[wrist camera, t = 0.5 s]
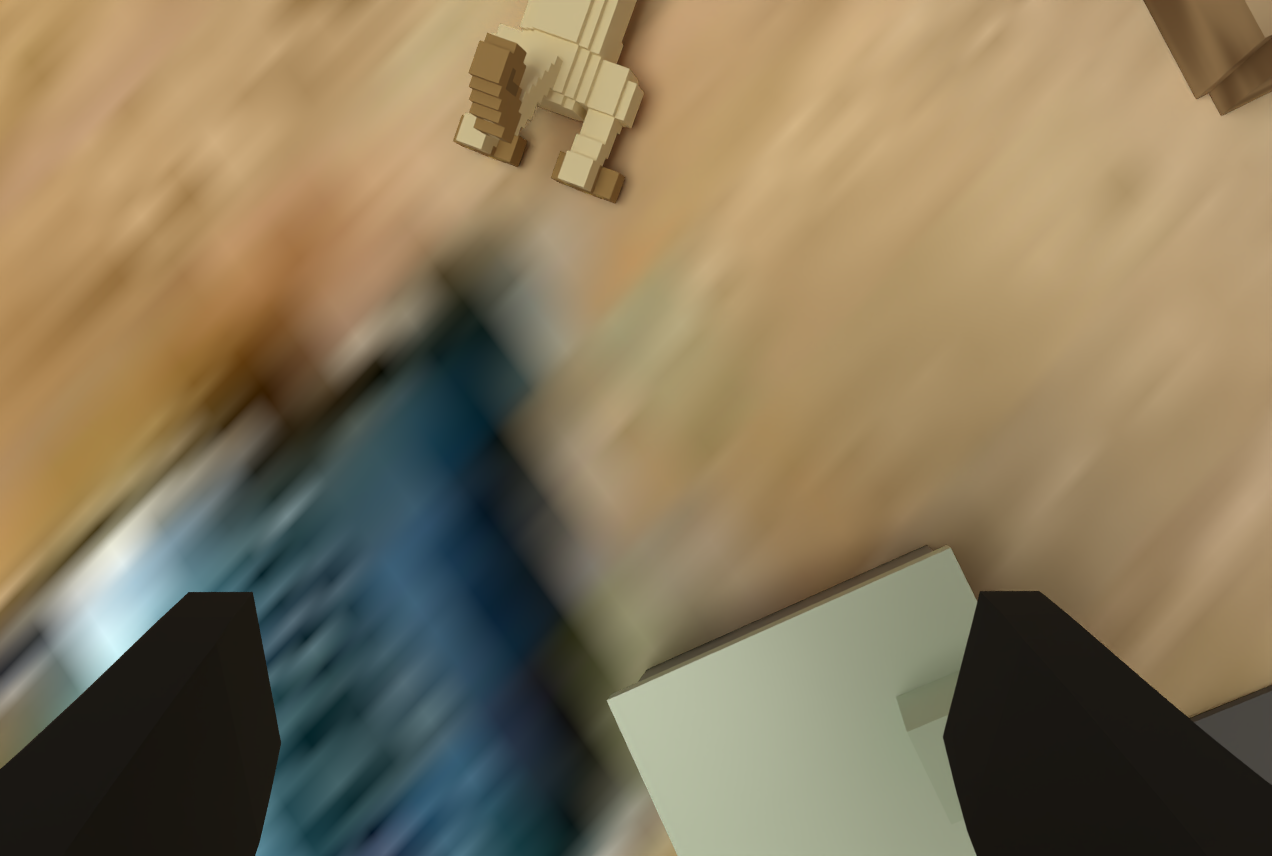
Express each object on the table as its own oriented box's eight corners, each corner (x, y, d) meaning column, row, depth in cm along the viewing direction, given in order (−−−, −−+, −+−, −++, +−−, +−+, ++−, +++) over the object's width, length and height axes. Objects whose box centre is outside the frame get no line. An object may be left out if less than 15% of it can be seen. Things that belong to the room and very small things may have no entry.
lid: (1099, 816, 29) (1155, 890, 25) (739, 958, 31) (725, 1054, 26) (960, 535, 30) (988, 554, 25) (615, 688, 32) (579, 733, 27)
